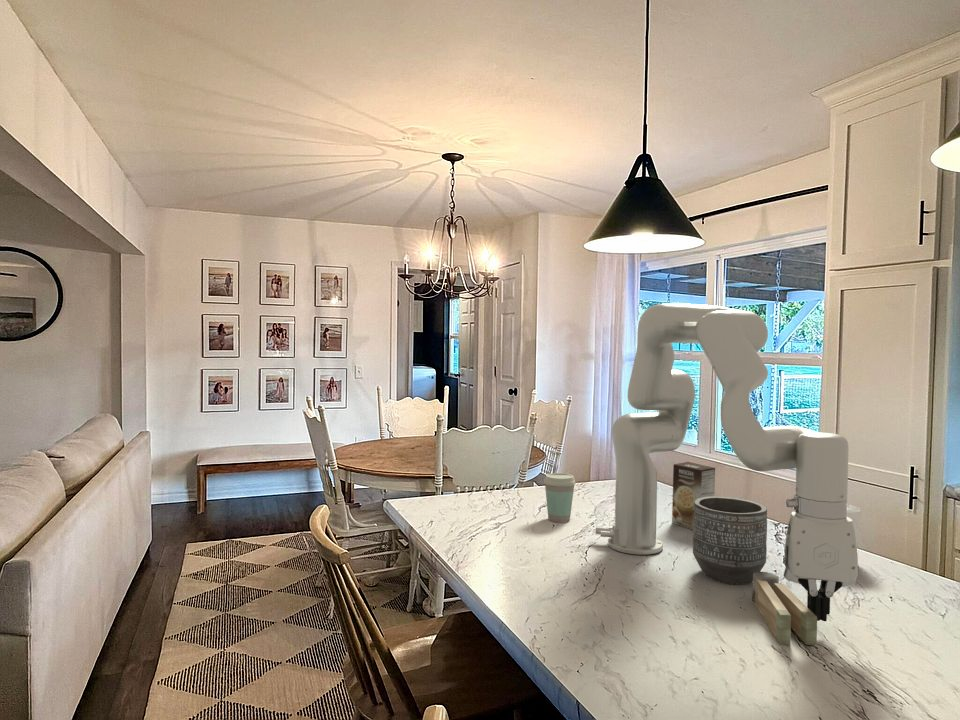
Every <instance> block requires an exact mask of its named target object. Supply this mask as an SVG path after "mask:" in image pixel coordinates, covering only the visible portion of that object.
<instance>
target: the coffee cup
mask: <svg viewBox="0 0 960 720" xmlns="http://www.w3.org/2000/svg"><path fill="white" fill-rule="evenodd" d="M543 480H544V481H543V483H544V487H545V498H546V509H547V518H548V520H549V521H550V522H552V523H562V524H563V523H567V522H569V521H570V520H571V514H572V506H573V498H574V490H575V485H576V480H575V477H574V475H572V474H570V473H564V472H552V473H547V474H546V475H545V478H544V479H543Z"/></svg>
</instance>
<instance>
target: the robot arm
mask: <svg viewBox="0 0 960 720" xmlns="http://www.w3.org/2000/svg"><path fill="white" fill-rule="evenodd" d="M636 333H637V340H636V343H637V344H636V351H635V356H634V360H633V365H632V369H631V374H630V379H629V382H628V388H627V402H628V403H629V405H630V406H631V407H632V408H633V409H635V410H638V411H644V412H632V413H626V414H623V415H621V416H619V417H618V418H617V419H615V421H614V423H613V424H612V427H611V437H612V438H611V439H612V442H613V443H612V444H613V449H614V456H615V457H614V458H615V459H614V460H615V492H614V493H615V496H614V497H615V499H614V501H615V502H614V503H615V504H614V505H615V506H614V507H615V508H614V522H613V523H612V524H613V525H608V526H607V527H606V526H605V527H604V526H597V525H595V535H597V536H598V535H599V536H600V537H602V538H608V539H607V545H608V546H609V547H610V548H611V549H612V550H614V551H617V552H620V553H625V554H630V555H641V556H643V555H654V554H658V553H660V552H661V551H663V549H664V548H663V547H664V544H663V542H662V541H661V540H660V539H658V538H657V509H658V507H657V506H658V505H657V502H658V472H657V468H656V466H655V464H654V461H653V460H652V458H651V456H650V455H651V454H653V453H663V452H665V453H666V452H667V453H668V452H672V451H675V450H677V449H679V448H680V447H681V446H682V444H683V443H684V440H685V437H686V435H687V430H688V426H689V422H690V418H691V415H692V411H693V407H694V402H695V398H696V389H695V388H696V387H695V384H694V381H693V378H692V377H691V376H690V375H689V374H688V373H687V372H685V371H683V370H680V369H673V366H674V362H675V351H674V347H673V344H699V345H700V347H701V349H702V351H703V352H704V354H705V356H706V359H707V360H708V362H709V364H710V366H711V367H712V370H713V372H714V373H715V375H716V377H717V379H718V381H719V383H720V384H721V386H722V389H723V394H722V398H721V401H720V423H721V427H722V430H723V432H724V435H725V436H726V439H727V441H728V442H729V444H730V446H731V448H732V450H733V453H735V455H736V457H737V458H738V460H739V461H740V462H741V463H742V464H743V465H744V466H745V467H747V468H748V469H750V470H752V471H756V472H769V471H778V470H779V471H780V470H793V469H794V470H795V493H794V494H793V496H794V497H793V498H788V499H786V500H785V504H786V507H787V508H791V509H794V510H793V511H792V512H791V513H790V517H789V521H788V525H787V530H786V536H785V543H784V558H783V559H784V565H785V568H784V573H783V578H785V580H786V581H788V582H790V583H791V582H792V583H795V584H799V585H801V586H802V587H803V588H804V590H805V591H806V592H807V598H806V599H807V602H806V604H807V605H806V607H807V608H808V609H809V610H810V611H812V612H813V613H814V614H815V615H816V616H817V622H818V621H819V622H820V621H822V622H827V620H828V615H830V613H831V599H832V597H834V594H835V593H836V592H837V591H838V590H840V589H841V588H842V587H843V588H844V587H850V586H855V585H856V583H857V582H856V580H857V578H858V575H859V573H858V572H859V562H858V561H859V559H858V546H857V545H856V536H855V529H854V524H853V520H852V519H851V518H849V517H847V504H848V489H849V488H848V487H849V484H848V481H849V477H848V476H849V443H848V440H847V438H846V437H845V436H844V435H841V434H838V433H831V432H821V431H815V430H811V429H809V428H806V427H803V426H798V425H797V426H796V425H779V426H778V425H776V426H762V425H761V424H760V423H759V421H758V419H757V417H756V415H755V414H754V412H753V409H752V407H751V403H750V393H751V392H754V391H755V390H756V389H758V388H759V387H761V386H762V385H763V384H764V383H765V381H767V378H768V377H769V376H768V375H769V371H768V368H767V366H766V365H765V363H764V361H763V359H762V358H761V356H760V355H759V353H758V351H760V350H762V348H763V347H764V346H765V345H766V344H767V340H768V337H769V331H768V328H767V324H766V322H765V320H764V319H763V318H762V317H761V316H760V315H758V314H757V313H755V312H753V311H748V310H742V309H734V308H730V307H724V306H720V305H719V306H718V305H712V304H711V305H710V304H709V305H708V304H697V303H694V304H691V303H676V302H675V303H673V302H672V303H671V302H669V303H668V302H667V303H658V304H654V305H652V306H651V305H650V306H649V307H648V308H647V309H645V311H644V312H643V313H642V314H641V316H640V319H639V321H638V325H637V332H636ZM672 343H673V344H672ZM645 411H646V412H645ZM817 581H820V584H819V589H818V585H817V584H818V583H817Z"/></svg>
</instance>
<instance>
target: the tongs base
mask: <svg viewBox="0 0 960 720" xmlns="http://www.w3.org/2000/svg"><path fill="white" fill-rule="evenodd" d="M779 582H780V577H779V575H777V574H774V573H772V572H768V571H760V572H755V573H753V581H752V600H751V601H752V603H754V604H755V605H756V608H757V610H758V611H759V612H760V614H761V616H762V617H763V619H764V621H765V622H766V624H767V626H768V627H769V629H770V631H771V632H772V634H773V636H774V638H775V640H776V641H777V642H778V644H779V645H784V646H785V645H786V646H791V636H792V635H791V633H792V631H791V630H792V628H791V615H790V613H789V612H788V611H787V609H786V608H785V606H784V605H783V604H782V602H781V601H780V599H779V598H778V597H777V595H776V594H775V592H774V583H779Z"/></svg>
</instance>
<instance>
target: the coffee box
mask: <svg viewBox="0 0 960 720" xmlns="http://www.w3.org/2000/svg"><path fill="white" fill-rule="evenodd" d="M672 473H673V474H672V476H673V477H672V503H671V504H672V505H671V508H672V510H671V513H672V514H671V523H672V524H674V525H677V526H681V527H683V528H687V529H690V530H693V523H694V501H695V500H696V499H698V498H701V497H708V496H715V486H716V485H715V484H716V467H712V466H709V465H704V464H700V463H696V462H695V463H694V462H690V461H685V462H679V463H673V472H672Z"/></svg>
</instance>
